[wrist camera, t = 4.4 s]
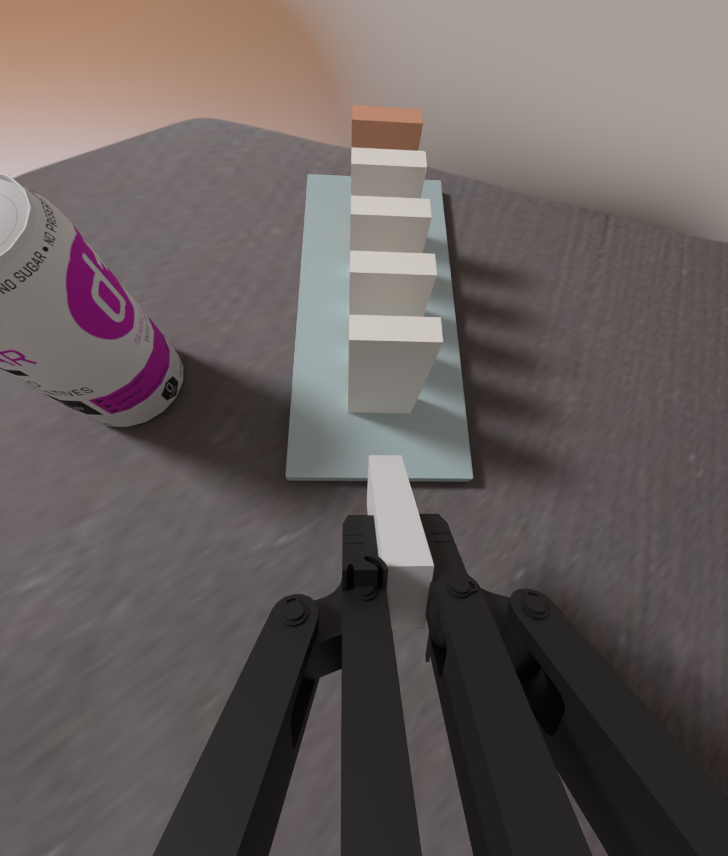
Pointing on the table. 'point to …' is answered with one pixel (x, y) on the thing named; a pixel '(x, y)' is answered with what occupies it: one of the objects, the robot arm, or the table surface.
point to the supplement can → (75, 320)
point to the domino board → (328, 363)
